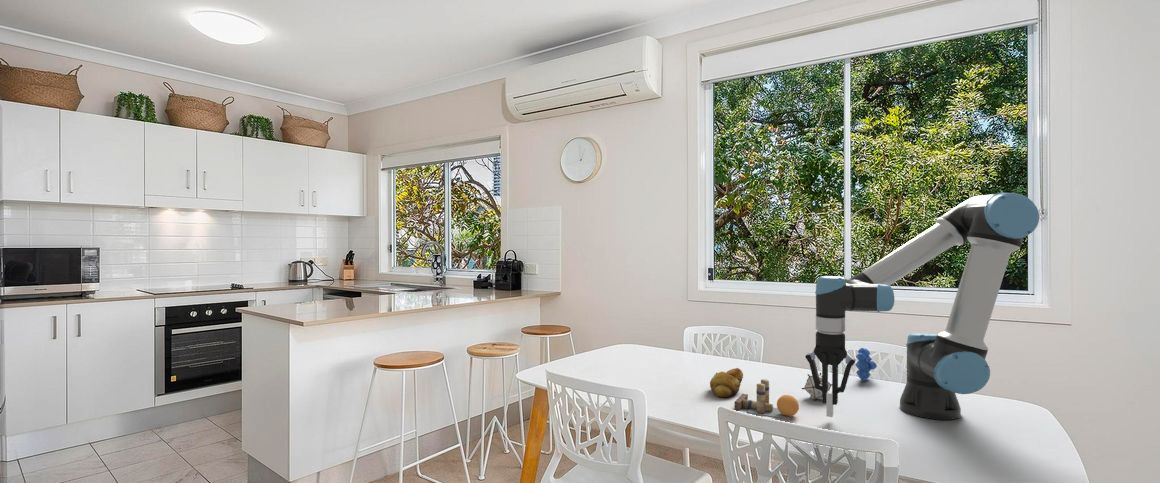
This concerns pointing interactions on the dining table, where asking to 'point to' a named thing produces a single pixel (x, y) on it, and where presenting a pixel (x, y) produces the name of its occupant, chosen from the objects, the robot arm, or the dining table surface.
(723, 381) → the bread roll
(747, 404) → the front pin
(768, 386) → the pin
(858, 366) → the grapes
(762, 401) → the pin
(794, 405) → the ball
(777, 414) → the pin deck
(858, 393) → the dining table surface
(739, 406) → the backstop
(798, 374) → the dining table surface
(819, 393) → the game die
